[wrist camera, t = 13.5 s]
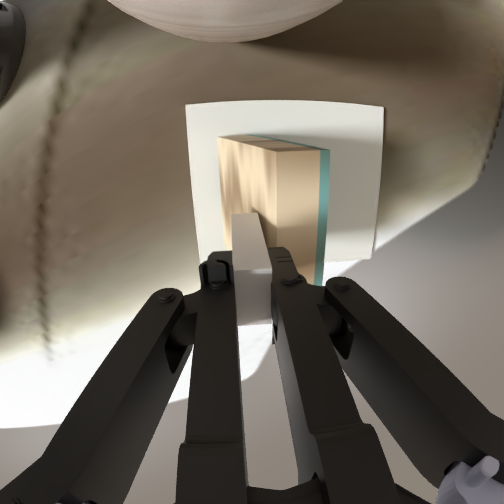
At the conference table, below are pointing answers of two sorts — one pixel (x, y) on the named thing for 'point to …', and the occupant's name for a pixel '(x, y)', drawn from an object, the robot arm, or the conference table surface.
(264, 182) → the block
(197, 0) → the vase
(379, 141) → the mat
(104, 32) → the conference table surface
